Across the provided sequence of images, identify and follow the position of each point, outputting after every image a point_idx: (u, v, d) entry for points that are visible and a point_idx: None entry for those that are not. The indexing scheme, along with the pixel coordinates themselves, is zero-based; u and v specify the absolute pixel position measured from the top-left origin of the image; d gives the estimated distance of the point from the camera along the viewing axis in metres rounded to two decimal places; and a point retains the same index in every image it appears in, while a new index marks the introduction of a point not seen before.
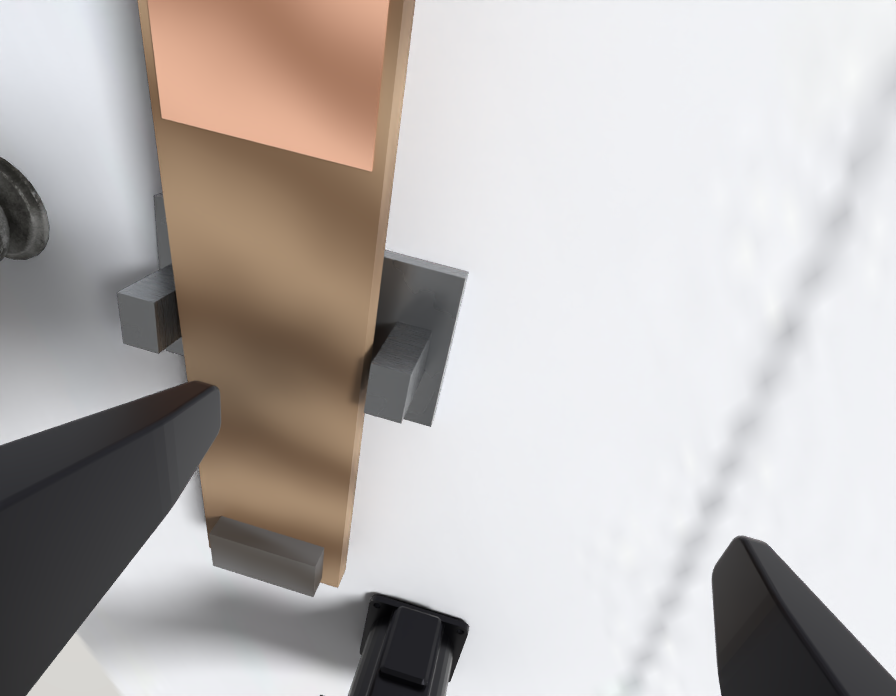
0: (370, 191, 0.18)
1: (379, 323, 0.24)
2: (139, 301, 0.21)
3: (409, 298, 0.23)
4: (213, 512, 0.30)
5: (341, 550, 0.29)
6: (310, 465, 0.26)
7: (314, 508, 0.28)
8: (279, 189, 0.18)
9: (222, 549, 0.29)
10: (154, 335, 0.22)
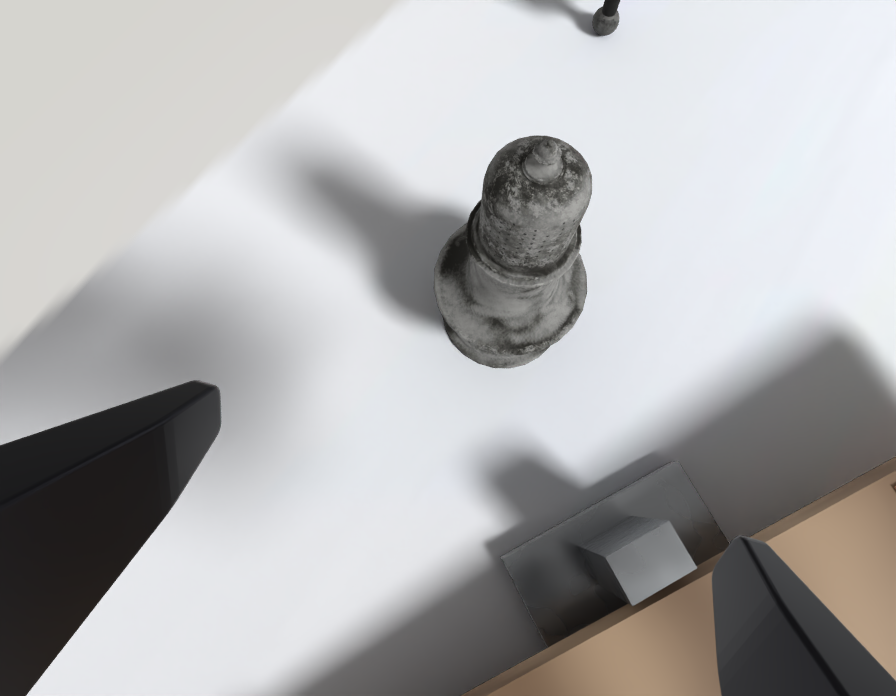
0: None
1: None
2: (682, 551, 0.17)
3: None
4: None
5: None
6: None
7: None
8: None
9: None
10: (653, 588, 0.17)
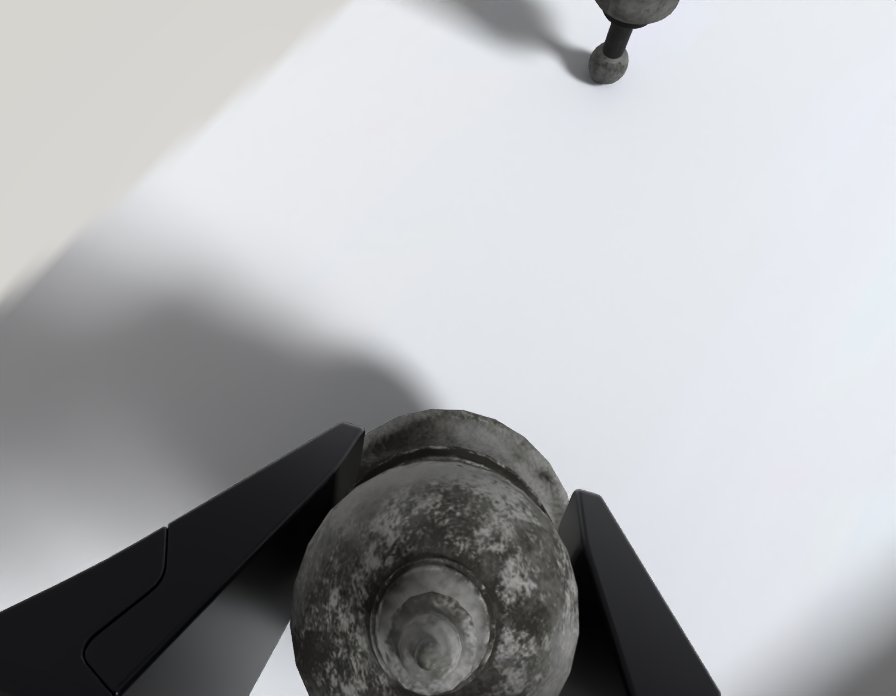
0: None
1: None
2: None
3: None
4: None
5: None
6: None
7: None
8: None
9: None
10: None
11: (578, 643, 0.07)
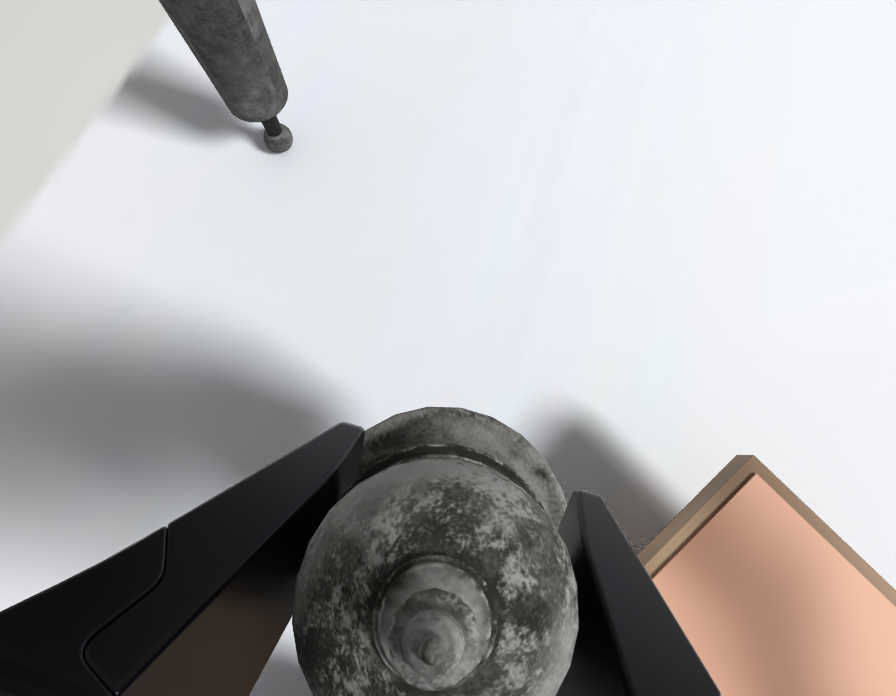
0: None
1: None
2: None
3: None
4: None
5: None
6: None
7: None
8: None
9: None
10: None
11: (578, 643, 0.07)
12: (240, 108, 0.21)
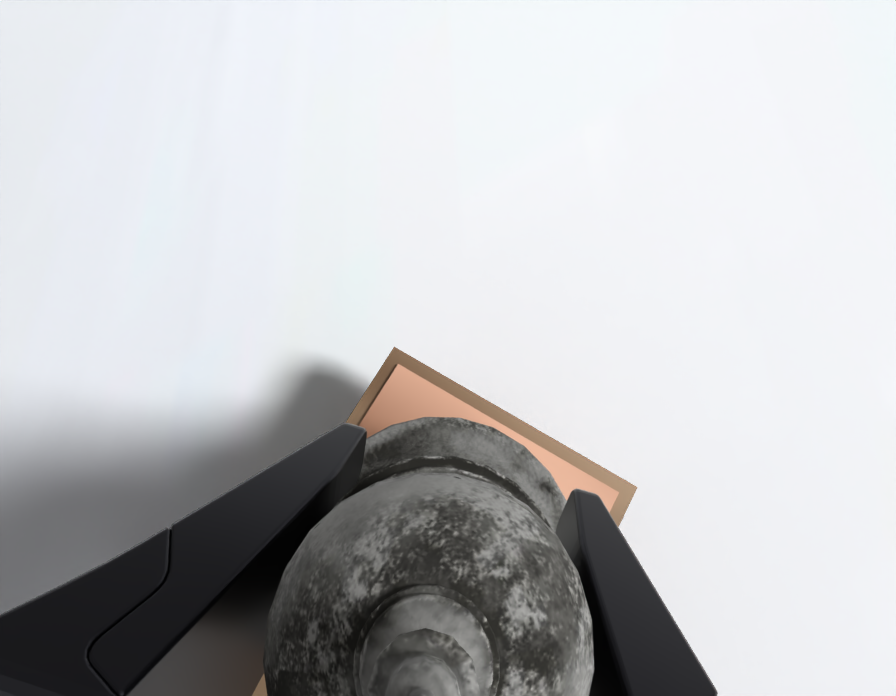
0: None
1: None
2: None
3: None
4: None
5: None
6: None
7: None
8: None
9: None
10: None
11: None
12: None
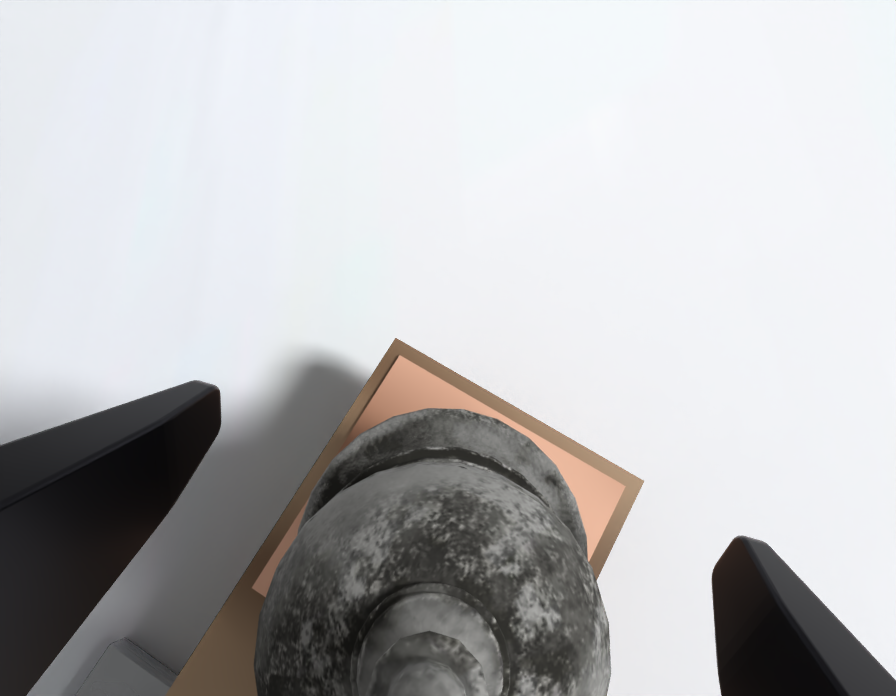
0: None
1: None
2: None
3: None
4: None
5: None
6: None
7: None
8: None
9: None
10: None
11: None
12: None
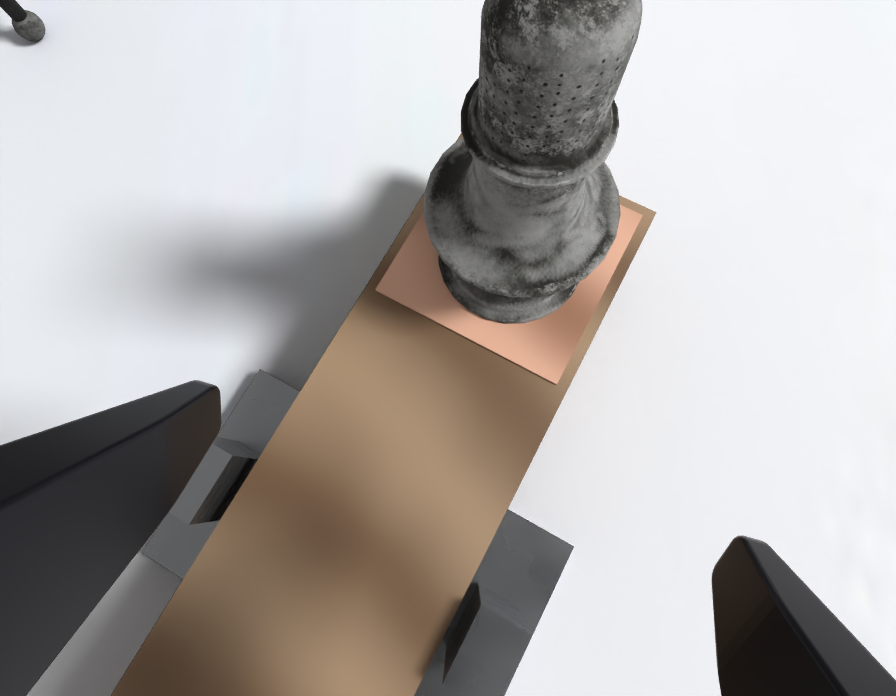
0: (547, 402, 0.18)
1: None
2: (213, 449, 0.17)
3: (501, 556, 0.20)
4: None
5: None
6: None
7: None
8: (455, 377, 0.19)
9: None
10: (201, 497, 0.17)
11: None
12: None
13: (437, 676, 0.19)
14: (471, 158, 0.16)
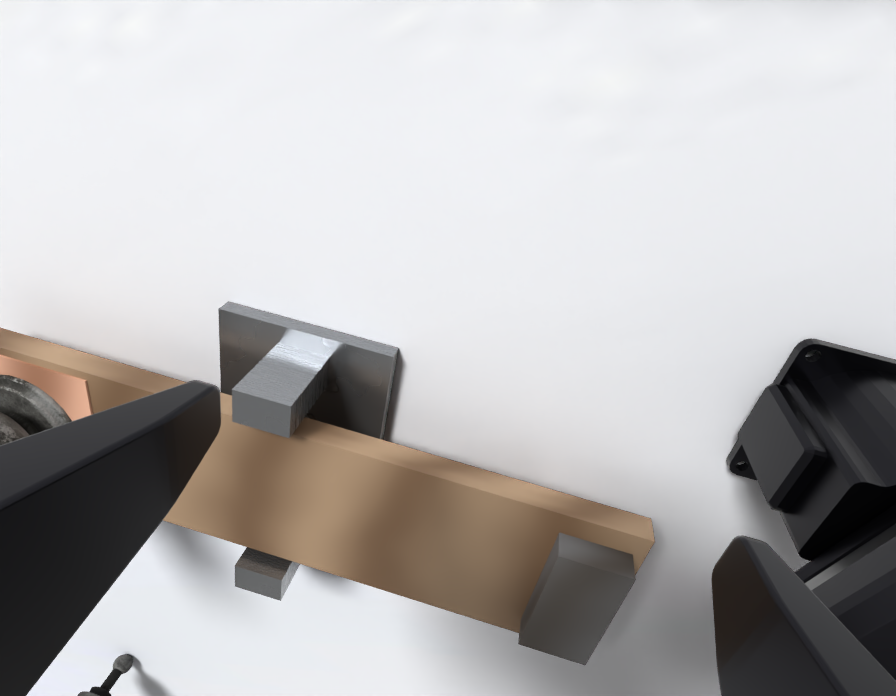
0: (101, 384, 0.23)
1: None
2: (237, 574, 0.26)
3: (252, 359, 0.25)
4: (516, 624, 0.25)
5: (561, 514, 0.21)
6: (407, 504, 0.23)
7: (481, 521, 0.22)
8: None
9: (546, 642, 0.23)
10: (264, 577, 0.26)
11: None
12: None
13: (348, 388, 0.24)
14: None
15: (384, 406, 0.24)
